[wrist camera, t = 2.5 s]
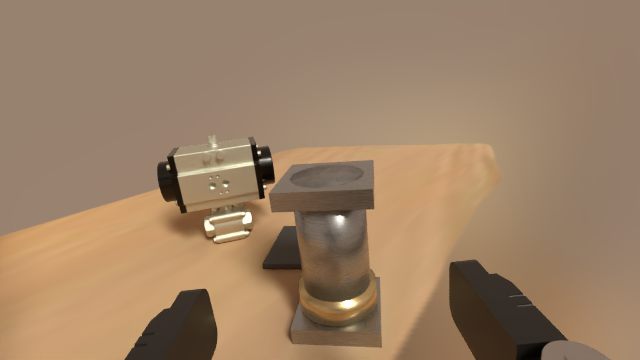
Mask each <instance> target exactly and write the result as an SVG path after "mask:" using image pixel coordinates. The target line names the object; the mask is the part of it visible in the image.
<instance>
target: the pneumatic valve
mask: <svg viewBox="0 0 640 360" xmlns="http://www.w3.org/2000/svg"><path fill="white" fill-rule="evenodd" d="M207 138H208V143H207V144H200V145H194V146H186V147H180V148H174V149H173V150H172V151H171V153H170V154H169V155H168V156H167V158H168V161H165V162H160V163H159V164H158V167H157V175H158V182H159V187H160V190H161V193H162V196H163V198H164V200H165V201H166V202H170V201H175V204H176V205H178V206H179V207H180V211H181V214H182V213H187V212H193V211H198V210H204V209H209V208H211V210H210V211H211V215H210V216H206V217H205V218H204V226H205V231H206V235H207V236H208V237H213V236H216V237H214V242H217V243H223V242H228V241H233V240H238V239H243V238H246V236H249V234H250V233H249V231H248V230H247V229H252V228H253V223H252V217H251V211H250V209H249V208H248V209H244V207H245V205H243V204H240V203H242V202H247V201H252V200H258V199H263V198H265V195H264V190H266V189H267V188H266V185H267V184H273V183H275V175H274V168H273V162H272V157H271V153H270V149H269V147H268V146H264V147H258V145H257V144H256V142H255V140H254V138H253V137H250V138H243V139H235V140H228V141H221V142H217V137H216V135H213V137H211V136H208V137H207ZM241 209H242V210H241ZM245 230H246V231H245Z"/></svg>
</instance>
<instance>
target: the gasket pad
mask: <svg viewBox="0 0 640 360" xmlns="http://www.w3.org/2000/svg"><path fill="white" fill-rule="evenodd" d="M263 269H302V267H301V259H300V252H299V245H298V237H297V230H296V226H284V227H283V229H282V231H281V232H280V234H279V236H278V238H277V239H276V241H275V243H274V245H273V246H272V248H271V250H270V252H269V254H268V255H267V257H266V259H265V261H264V262H263Z"/></svg>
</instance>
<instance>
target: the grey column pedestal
mask: <svg viewBox="0 0 640 360" xmlns="http://www.w3.org/2000/svg"><path fill="white" fill-rule="evenodd" d="M269 199H270V205H271V211H272V212H294V215H295V222H296V230H297V237H298V245H299V252H300V259H301V267H302V276H301V277H300V280H299V293H300V301H299V304H298V307H297V310H296V313H295V316H294V320H293V323H292V326H291V329H290V331H291V338H292V344H306V345H331V346H356V347H381V348H382V337H381V299H380V277H375V274H374V272H373V271H372V270H371V269H370V265H369V249H368V234H367V218H366V209H374V163H373V160H368V161H351V162H333V163H316V164H298V165H292V166H291V167H290V168H289V169H288V171H287V172H286V173H285V174H284V176H283V177H282V178H281V179H280V180H279V182H278V183H277V184H276V185H275V186H274V188H273V189H272V190H271V191H270V193H269Z"/></svg>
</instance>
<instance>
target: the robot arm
mask: <svg viewBox="0 0 640 360" xmlns="http://www.w3.org/2000/svg"><path fill="white" fill-rule="evenodd" d="M449 278H450V280H449V281H450V282H449V283H450V284H449V285H450V286H449V288H450V289H449V291H450V292H449V295H450V296H449V300H450V310H451V314H452V317H453V320H454V322H455V324H456V326H457V328H458V329H459V331H460V333H461V334H462V336H463V338H464V340H465V342H466V343H467V345H468V347H469V348H470V350H471V352H472V354H473V356H474V357H475V359H476V360H610V359H609V358H607V357H606V356H605V355H604V354H602V353H600V352H599V351H597V350H595V349H593V348H591V347H589V346H586V345H584V344H581V343H577V342H573V341H568V340H567V339H566V338H565V336H564V335H562V333H561V332H560V331H559V330H558V329H557V328H556V327H555V326H554V325H552V323H551V322H550V321H549V320H548V319H547V318H546V317H545V316H544V315H543V314H542V313H541V312H540V311H539V310H538V309H537V308H536V307H535V306H533V305H532V302H531V301H530V300H529V299H528V298H527V297H526V296H523V293H522V292H521V291H520V290H519V289H518V288H517V287H516V286H515V285H514V284H513V283H512V282H510V281H509V280H507V279H505V278H503V277H501V276H500V275H498V274H489V273H488V272H487V271H486V270H485V269H484V268H483V267H482V266H481V264H480V263H479V262H478V261H476V260H467V261H457V262H451V264H450V268H449ZM216 344H217V326H216V322H215V318H214V314H213V310H212V306H211V302H210V298H209V294H208V292H207V290H206V289H196V290H187V291H181V292H180V293H179V295H178V296H177V298H176V299H175V301H174V303H173V304H172V306H171V307H170V308H168V309H164V310H163V311H162V312H160V313H159V314H158V315H157V316H156V317H155V318H153V319H152V320H151V321H150V323H149V324H148V326H147V327H146V329H145V330H144V332H143V333H142V336H140V337H139V339H138V340H137V342H136V343H135V347H134V348H132V349H131V351H130V352H129V354H128V355H127V357H126V358H125V360H211V359H212V357H213V354H214V351H215V348H216Z"/></svg>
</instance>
